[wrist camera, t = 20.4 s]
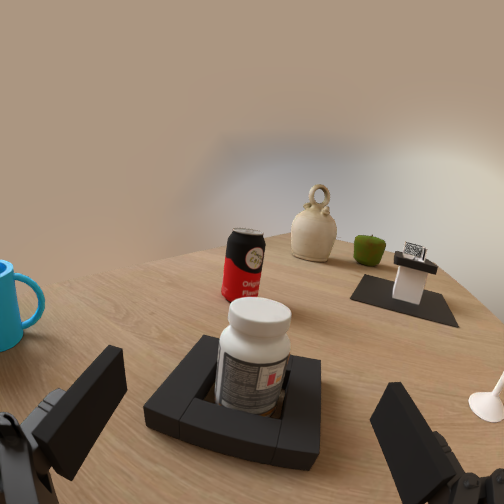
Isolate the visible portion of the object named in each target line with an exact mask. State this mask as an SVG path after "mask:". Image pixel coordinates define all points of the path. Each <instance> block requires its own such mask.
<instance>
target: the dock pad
mask: <svg viewBox="0 0 504 504" xmlns="http://www.w3.org/2000/svg"><path fill="white" fill-rule="evenodd" d="M219 340H220V339H219V338H215V337H211V336H207V335H203V336H202V337H201V338H200V340H199V341H198V342H197V343H196V344H195V346H194V347H193V348H192V349H191V350H190V352H189V353H188V354H187V355H186V356H185V358H184V359H183V360H182V361H181V362H180V363H179V365H178V366H177V367H176V368H175V369H174V371H173V372H172V373H171V374H170V375H169V376H168V378H167V379H166V380H165V381H164V382H163V384H162V385H161V386H160V387H159V388H158V389H157V391H156V392H155V393H154V394H153V395H152V396H151V398H150V399H149V400H148V401H147V402H146V403H145V405H144V406H143V409H144V416H145V422H146V426H148V427H150V428H152V429H155V430H157V431H159V432H162V433H164V434H167V435H169V436H172V437H174V438H177V439H180V440H182V441H185V442H188V443H191V444H193V445H196V446H199V447H202V448H206V449H209V450H212V451H215V452H219V453H222V454H226V455H230V456H233V457H237V458H241V459H245V460H250V461H254V462H259V463H264V464H270V465H273V466H279V467H285V468H292V469H299V470H307V471H309V470H310V469H311V467H312V465H313V464H314V462H315V460H316V459H317V457H318V455H319V450H320V423H321V360H317V359H311V358H305V357H300V356H295V355H294V356H293V355H289V359H288V363H287V367H286V371H285V375H284V379H283V383H282V389H286V391H285V396H284V402H283V407H282V412H281V417H280V419H274V418H269V417H265V416H260V415H256V414H251V413H247V412H243V411H239V410H235V409H231V408H228V407H224V406H221V405H217V404H214V403H210V402H207V401H204V398H205V396H206V395H207V393H208V391H209V390H210V388H211V386H212V384H213V383H214V381H215V379H216V371H217V361H218V350H219Z"/></svg>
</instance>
